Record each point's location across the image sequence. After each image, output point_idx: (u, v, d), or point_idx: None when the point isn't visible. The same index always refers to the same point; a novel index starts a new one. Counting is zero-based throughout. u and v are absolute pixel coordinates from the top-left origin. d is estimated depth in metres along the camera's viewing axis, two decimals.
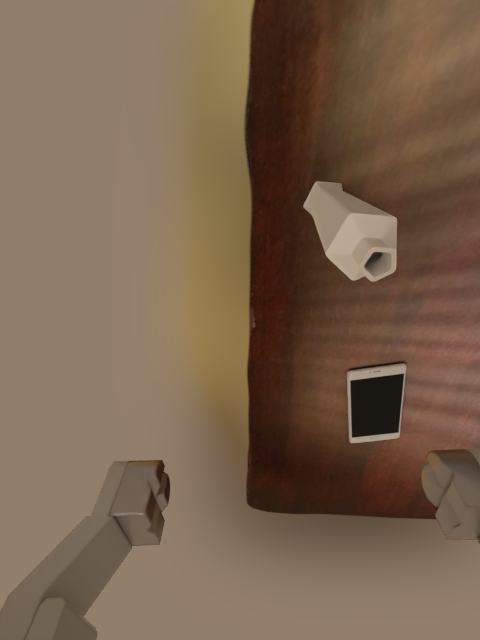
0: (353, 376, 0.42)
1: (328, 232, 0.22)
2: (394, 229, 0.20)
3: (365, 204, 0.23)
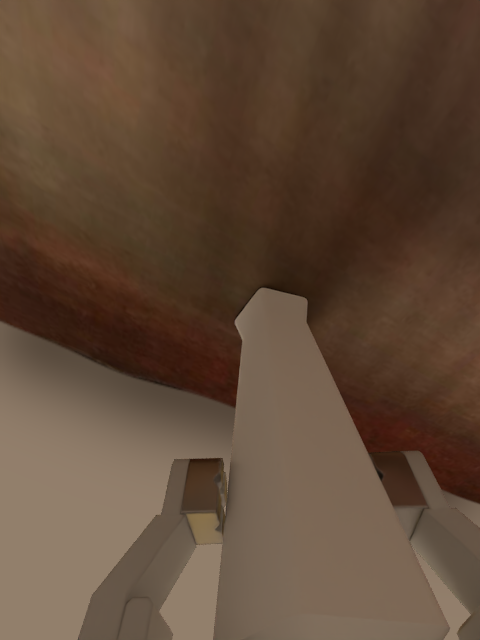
0: None
1: None
2: (335, 631, 0.05)
3: (266, 442, 0.09)
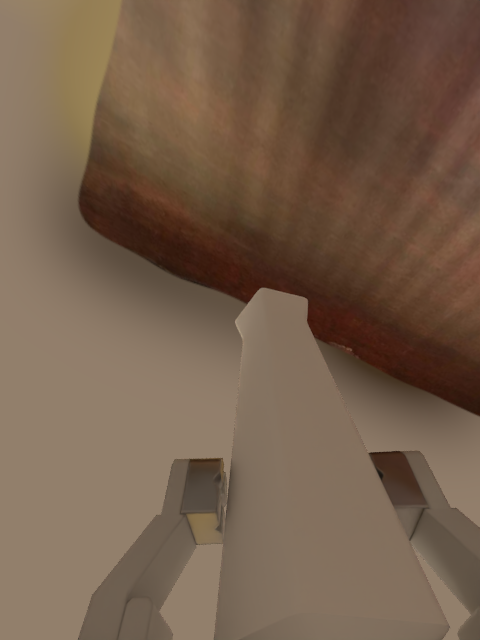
0: None
1: None
2: (335, 629, 0.05)
3: (266, 442, 0.09)
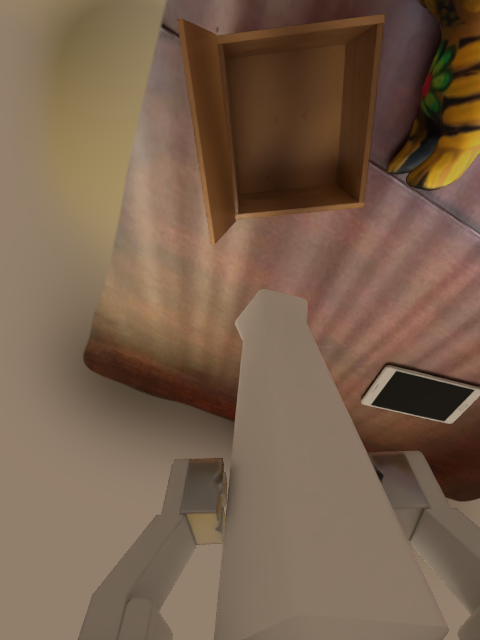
0: (368, 402, 0.45)
1: None
2: (334, 632, 0.05)
3: (266, 443, 0.09)
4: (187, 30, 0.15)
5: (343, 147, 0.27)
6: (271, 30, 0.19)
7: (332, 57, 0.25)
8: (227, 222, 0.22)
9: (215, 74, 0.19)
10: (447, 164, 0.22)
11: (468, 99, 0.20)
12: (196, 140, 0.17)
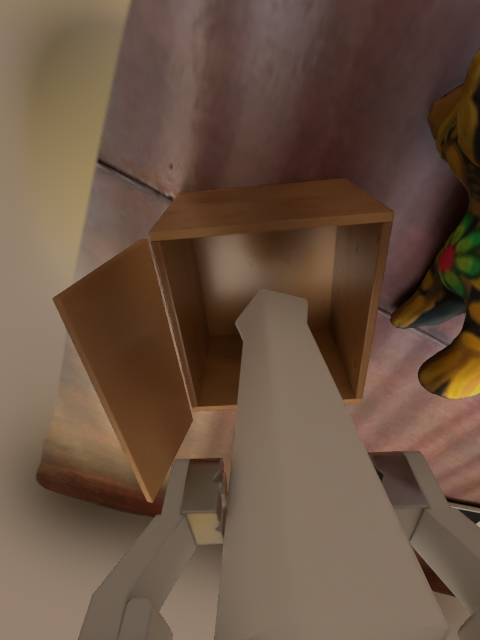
0: None
1: None
2: (335, 633, 0.05)
3: (267, 444, 0.09)
4: (75, 302, 0.09)
5: (336, 301, 0.21)
6: (228, 227, 0.13)
7: None
8: (176, 444, 0.17)
9: (146, 293, 0.13)
10: (476, 375, 0.16)
11: None
12: (109, 416, 0.11)
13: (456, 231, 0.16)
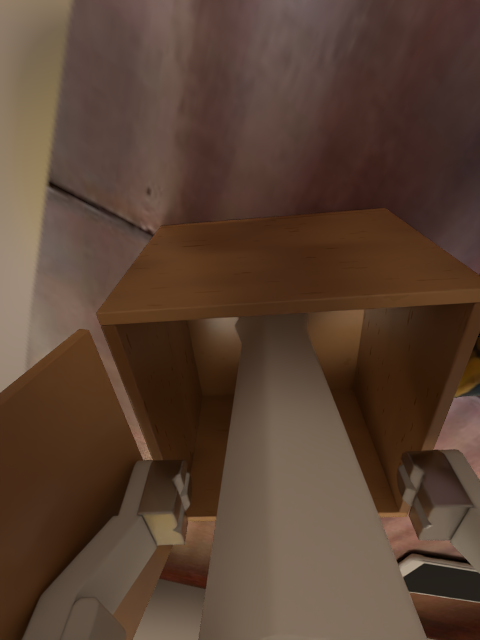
0: None
1: None
2: None
3: (257, 453, 0.09)
4: None
5: (367, 365, 0.16)
6: (224, 308, 0.08)
7: None
8: (147, 591, 0.12)
9: (88, 415, 0.08)
10: None
11: None
12: None
13: None
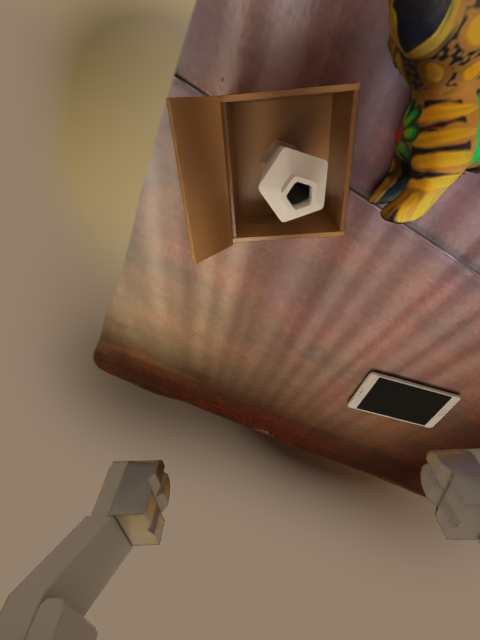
0: (353, 405, 0.49)
1: None
2: (294, 153, 0.20)
3: (276, 152, 0.23)
4: (175, 104, 0.20)
5: (330, 180, 0.31)
6: (265, 93, 0.23)
7: (321, 105, 0.29)
8: (217, 246, 0.27)
9: (213, 128, 0.23)
10: (414, 203, 0.26)
11: (431, 150, 0.24)
12: (180, 184, 0.22)
13: None
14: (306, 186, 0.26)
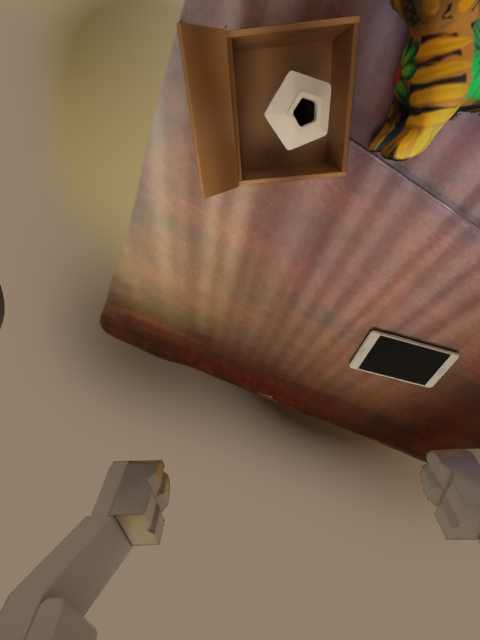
0: (355, 365, 0.50)
1: None
2: (299, 76, 0.21)
3: None
4: (185, 30, 0.21)
5: (330, 128, 0.32)
6: (270, 27, 0.24)
7: (321, 51, 0.30)
8: (224, 184, 0.27)
9: (220, 62, 0.24)
10: (413, 138, 0.27)
11: (428, 85, 0.25)
12: (190, 114, 0.23)
13: (402, 55, 0.27)
14: None
